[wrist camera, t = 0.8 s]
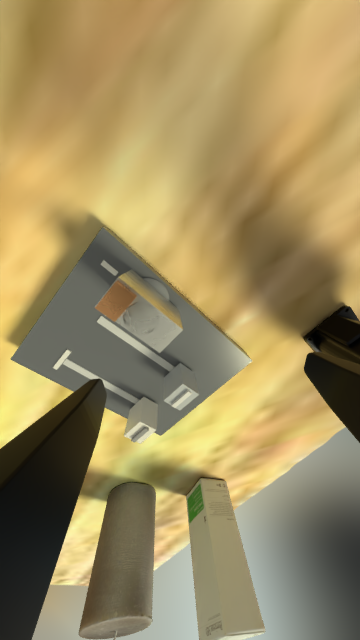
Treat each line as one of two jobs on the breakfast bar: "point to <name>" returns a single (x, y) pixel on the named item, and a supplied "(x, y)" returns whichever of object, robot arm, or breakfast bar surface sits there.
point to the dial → (141, 310)
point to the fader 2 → (180, 387)
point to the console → (124, 338)
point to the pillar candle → (122, 566)
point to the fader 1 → (141, 420)
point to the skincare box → (220, 566)
